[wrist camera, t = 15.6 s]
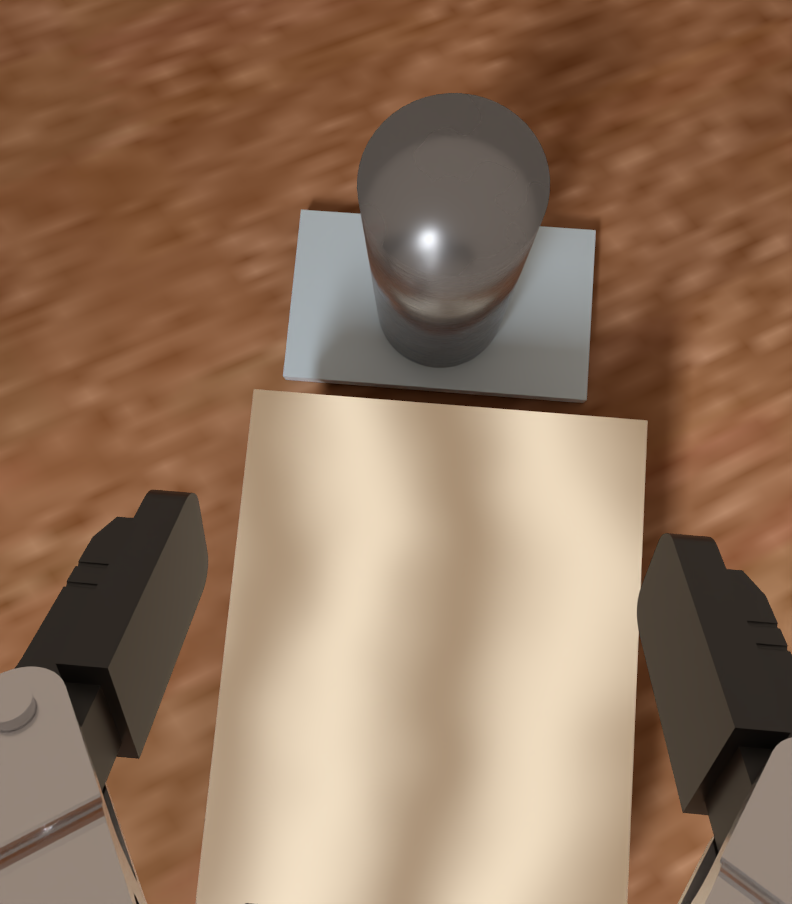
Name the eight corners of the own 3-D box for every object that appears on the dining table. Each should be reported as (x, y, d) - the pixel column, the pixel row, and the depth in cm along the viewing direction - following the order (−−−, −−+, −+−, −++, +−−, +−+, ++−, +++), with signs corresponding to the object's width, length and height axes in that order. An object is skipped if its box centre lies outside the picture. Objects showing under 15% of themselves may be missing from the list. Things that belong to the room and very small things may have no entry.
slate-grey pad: (285, 379, 29) (282, 376, 28) (303, 216, 30) (301, 209, 29) (583, 403, 28) (586, 400, 28) (592, 236, 29) (595, 229, 29)
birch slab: (230, 891, 26) (187, 972, 21) (281, 415, 29) (254, 389, 24) (582, 928, 26) (622, 1020, 21) (606, 441, 28) (647, 420, 23)
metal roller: (371, 361, 28) (347, 267, 18) (384, 241, 29) (367, 86, 19) (497, 373, 28) (542, 283, 18) (507, 252, 28) (556, 100, 19)
